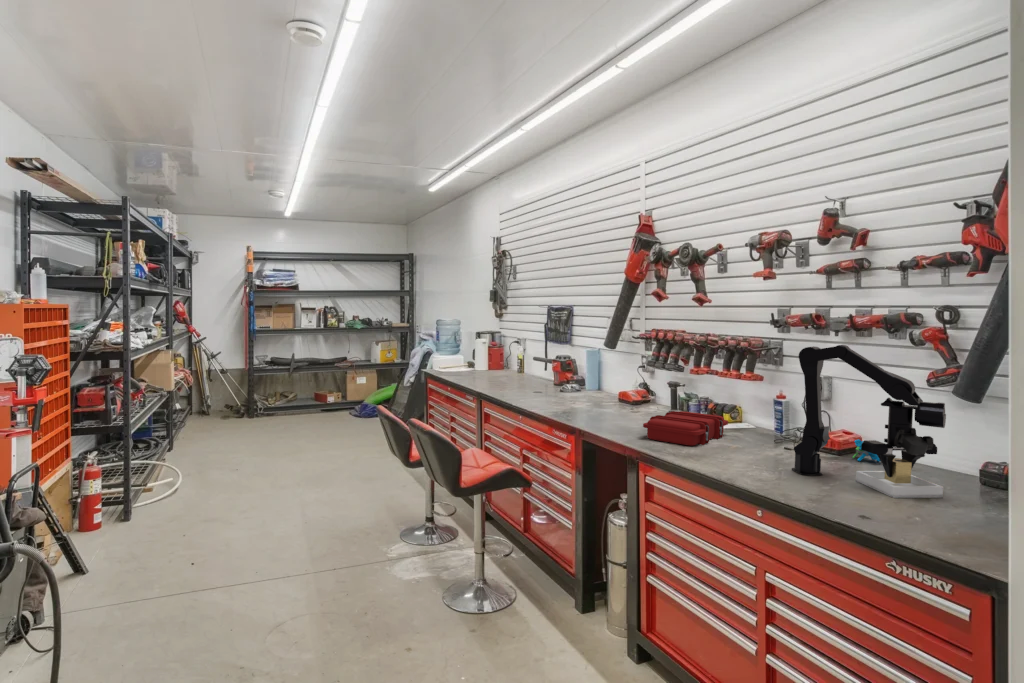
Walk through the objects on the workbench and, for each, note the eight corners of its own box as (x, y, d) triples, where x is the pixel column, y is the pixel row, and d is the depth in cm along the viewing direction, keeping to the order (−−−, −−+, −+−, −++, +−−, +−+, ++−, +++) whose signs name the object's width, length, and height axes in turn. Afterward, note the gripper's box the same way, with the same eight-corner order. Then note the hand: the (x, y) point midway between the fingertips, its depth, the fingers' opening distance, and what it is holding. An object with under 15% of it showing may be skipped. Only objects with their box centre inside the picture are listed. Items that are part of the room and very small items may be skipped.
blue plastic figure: (890, 460, 192) (867, 438, 193) (877, 473, 192) (855, 451, 193) (871, 457, 203) (850, 436, 204) (859, 469, 203) (838, 448, 204)
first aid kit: (697, 449, 214) (697, 426, 214) (640, 439, 229) (641, 418, 229) (729, 435, 238) (730, 415, 238) (676, 428, 253) (676, 408, 253)
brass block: (895, 483, 164) (896, 462, 164) (884, 478, 168) (885, 458, 168) (910, 483, 164) (911, 462, 164) (899, 478, 169) (900, 458, 168)
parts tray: (893, 497, 158) (893, 487, 158) (855, 480, 174) (856, 471, 174) (942, 497, 159) (943, 486, 159) (900, 480, 175) (901, 470, 175)
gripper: (888, 428, 157) (885, 485, 158) (954, 428, 158) (951, 485, 159) (861, 420, 168) (859, 474, 169) (923, 421, 169) (920, 473, 170)
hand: (897, 476), depth 166 cm, fingers closed on brass block, 4 cm apart
